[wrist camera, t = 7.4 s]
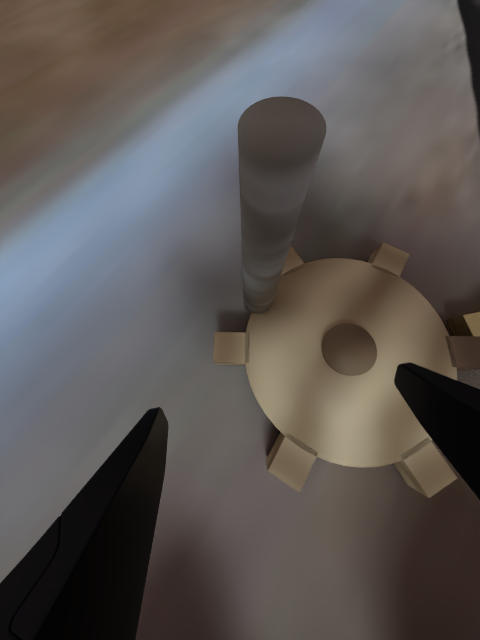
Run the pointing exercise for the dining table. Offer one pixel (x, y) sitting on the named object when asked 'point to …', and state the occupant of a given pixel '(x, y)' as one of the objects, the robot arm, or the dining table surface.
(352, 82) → the dining table surface
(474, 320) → the pointer
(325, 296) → the index wheel
